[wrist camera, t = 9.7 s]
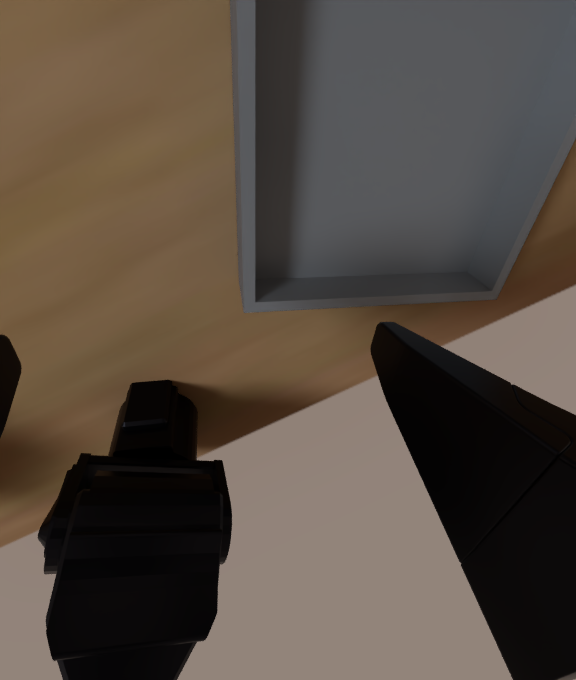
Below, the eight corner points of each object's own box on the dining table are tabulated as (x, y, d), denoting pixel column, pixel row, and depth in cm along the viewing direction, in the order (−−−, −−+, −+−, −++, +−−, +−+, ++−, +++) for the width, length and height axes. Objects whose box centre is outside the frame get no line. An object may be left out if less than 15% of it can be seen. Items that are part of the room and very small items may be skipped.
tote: (463, 272, 24) (496, 299, 21) (238, 280, 21) (243, 312, 18) (597, -60, 14) (687, -89, 12) (226, -124, 12) (232, -182, 9)
